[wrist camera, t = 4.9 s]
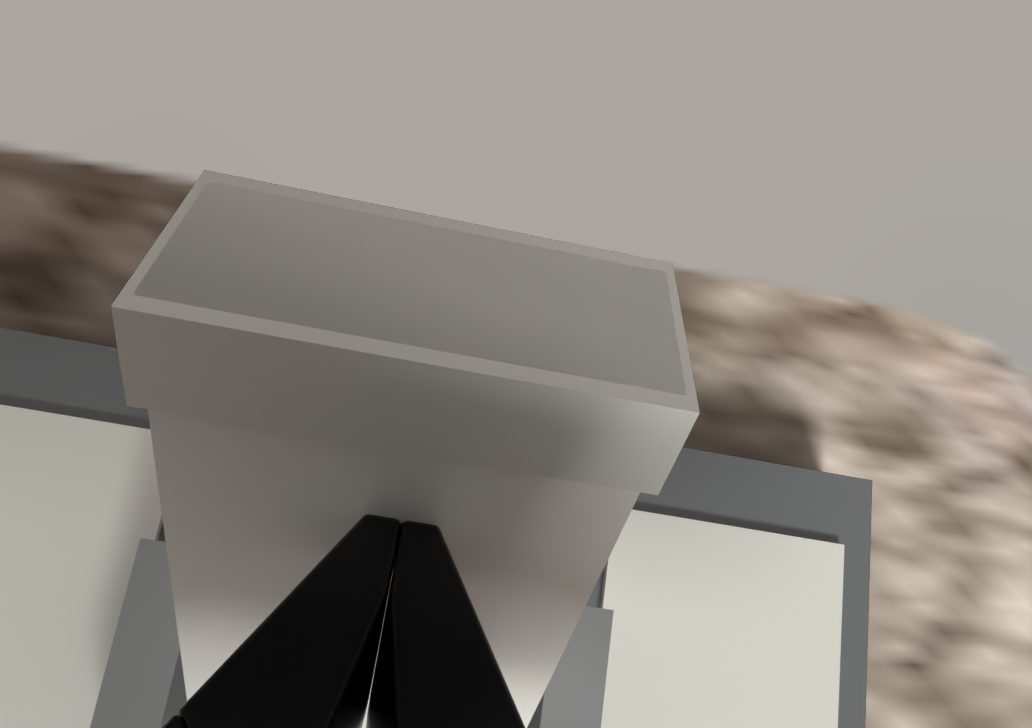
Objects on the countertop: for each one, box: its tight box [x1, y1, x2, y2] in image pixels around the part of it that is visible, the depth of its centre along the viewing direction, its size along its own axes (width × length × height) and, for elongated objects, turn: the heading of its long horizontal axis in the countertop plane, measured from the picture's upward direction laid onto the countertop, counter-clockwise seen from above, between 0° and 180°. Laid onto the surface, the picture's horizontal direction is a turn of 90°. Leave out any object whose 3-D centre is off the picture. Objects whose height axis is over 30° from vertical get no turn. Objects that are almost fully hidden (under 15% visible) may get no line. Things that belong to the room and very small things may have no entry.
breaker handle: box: [111, 170, 700, 728], centre depth 11 cm, size 2×5×8 cm
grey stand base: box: [0, 327, 872, 728], centre depth 15 cm, size 9×20×4 cm, turn 81°
